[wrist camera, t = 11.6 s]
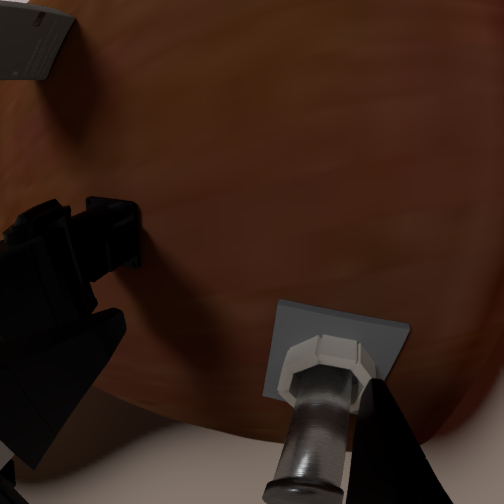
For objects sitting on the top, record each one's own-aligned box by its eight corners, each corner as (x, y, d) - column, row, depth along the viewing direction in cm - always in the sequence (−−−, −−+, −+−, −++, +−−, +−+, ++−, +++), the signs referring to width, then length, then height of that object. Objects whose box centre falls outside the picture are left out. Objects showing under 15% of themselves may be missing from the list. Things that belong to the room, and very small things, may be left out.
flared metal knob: (292, 356, 24) (248, 489, 13) (347, 344, 22) (330, 491, 10) (311, 391, 25) (280, 512, 14) (361, 382, 23) (348, 512, 12)
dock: (264, 390, 28) (255, 412, 25) (279, 298, 23) (270, 322, 20) (363, 409, 26) (362, 433, 23) (408, 323, 20) (414, 349, 18)
